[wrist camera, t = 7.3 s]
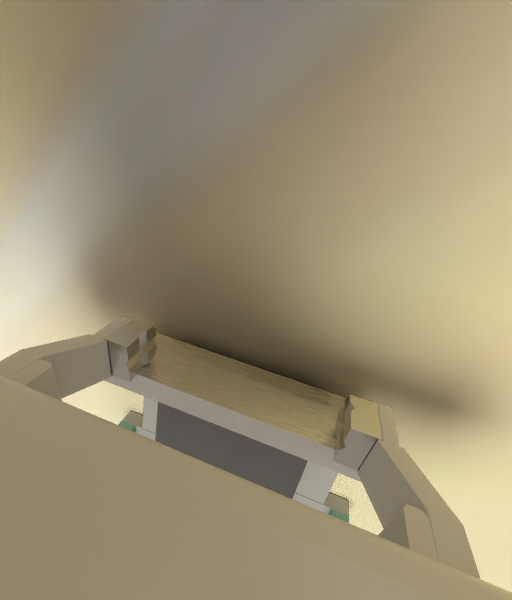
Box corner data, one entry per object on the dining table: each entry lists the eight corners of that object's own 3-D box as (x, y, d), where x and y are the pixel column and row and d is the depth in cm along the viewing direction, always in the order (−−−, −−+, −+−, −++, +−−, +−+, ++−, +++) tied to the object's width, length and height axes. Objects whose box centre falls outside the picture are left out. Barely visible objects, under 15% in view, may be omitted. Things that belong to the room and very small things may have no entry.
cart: (154, 324, 14) (101, 360, 11) (362, 394, 13) (371, 463, 9) (147, 441, 18) (106, 494, 15) (309, 510, 16) (302, 589, 13)
